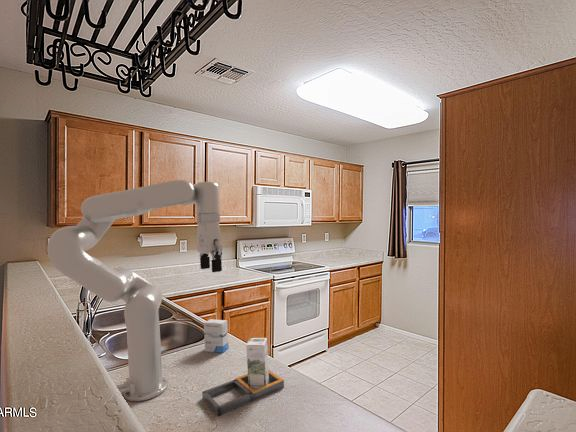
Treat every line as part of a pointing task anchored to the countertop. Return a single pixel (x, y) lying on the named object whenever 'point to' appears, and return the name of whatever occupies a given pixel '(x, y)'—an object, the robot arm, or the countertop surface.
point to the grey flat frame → (243, 389)
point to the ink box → (216, 335)
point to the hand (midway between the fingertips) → (210, 270)
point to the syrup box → (257, 362)
